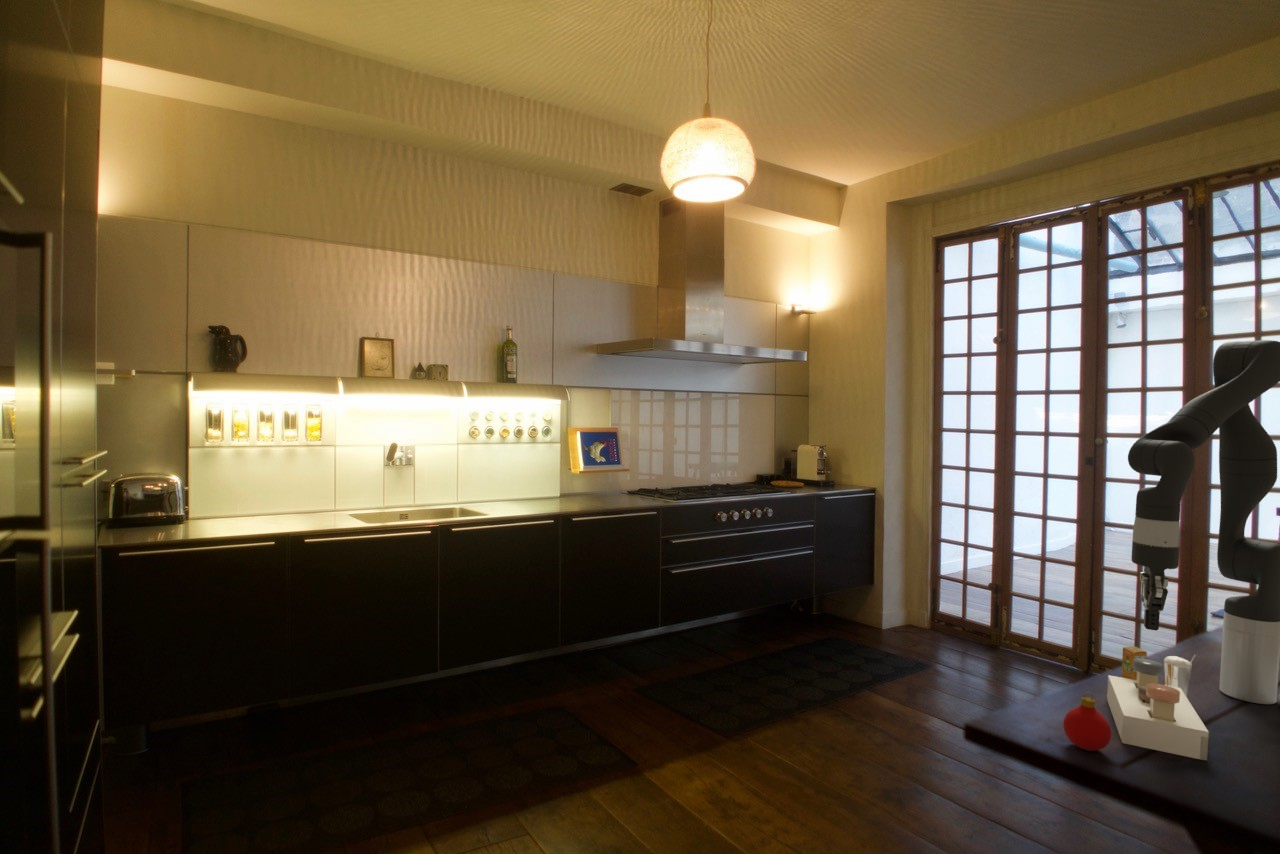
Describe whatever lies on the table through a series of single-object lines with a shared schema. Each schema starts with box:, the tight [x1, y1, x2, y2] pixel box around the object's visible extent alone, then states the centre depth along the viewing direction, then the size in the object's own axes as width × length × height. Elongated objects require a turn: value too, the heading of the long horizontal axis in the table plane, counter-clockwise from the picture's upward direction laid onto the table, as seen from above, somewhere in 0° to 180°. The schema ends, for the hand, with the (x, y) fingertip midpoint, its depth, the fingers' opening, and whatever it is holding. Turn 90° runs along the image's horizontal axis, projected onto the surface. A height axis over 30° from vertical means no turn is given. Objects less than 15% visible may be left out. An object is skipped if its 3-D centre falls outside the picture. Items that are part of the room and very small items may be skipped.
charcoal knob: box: [1133, 658, 1164, 689], centre depth 138 cm, size 5×5×6 cm
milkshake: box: [1163, 654, 1196, 697], centre depth 145 cm, size 4×5×10 cm
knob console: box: [1106, 674, 1210, 762], centre depth 132 cm, size 22×12×5 cm, turn 152°
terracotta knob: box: [1146, 683, 1180, 722], centre depth 125 cm, size 5×5×6 cm
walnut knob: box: [1138, 686, 1150, 703], centre depth 132 cm, size 5×5×6 cm
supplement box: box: [1121, 646, 1148, 680], centre depth 147 cm, size 3×3×10 cm
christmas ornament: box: [1062, 691, 1112, 752], centre depth 122 cm, size 7×7×10 cm
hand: (1151, 628), depth 138 cm, fingers closed
